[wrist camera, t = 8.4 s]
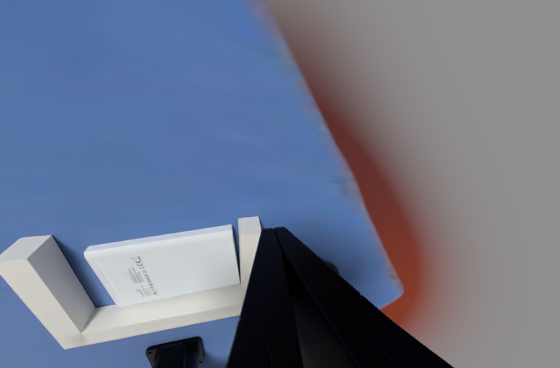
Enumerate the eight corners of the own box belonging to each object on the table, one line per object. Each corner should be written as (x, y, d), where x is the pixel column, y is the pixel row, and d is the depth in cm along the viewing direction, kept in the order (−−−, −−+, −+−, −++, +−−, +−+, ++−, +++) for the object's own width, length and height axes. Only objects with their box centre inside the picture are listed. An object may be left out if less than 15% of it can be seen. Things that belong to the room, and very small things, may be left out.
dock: (256, 291, 26) (259, 311, 24) (79, 322, 22) (64, 349, 20) (258, 216, 21) (262, 233, 19) (20, 237, 16) (-10, 262, 14)
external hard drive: (239, 273, 25) (125, 296, 23) (231, 220, 21) (91, 241, 19) (240, 285, 24) (118, 311, 21) (232, 231, 20) (80, 255, 17)
